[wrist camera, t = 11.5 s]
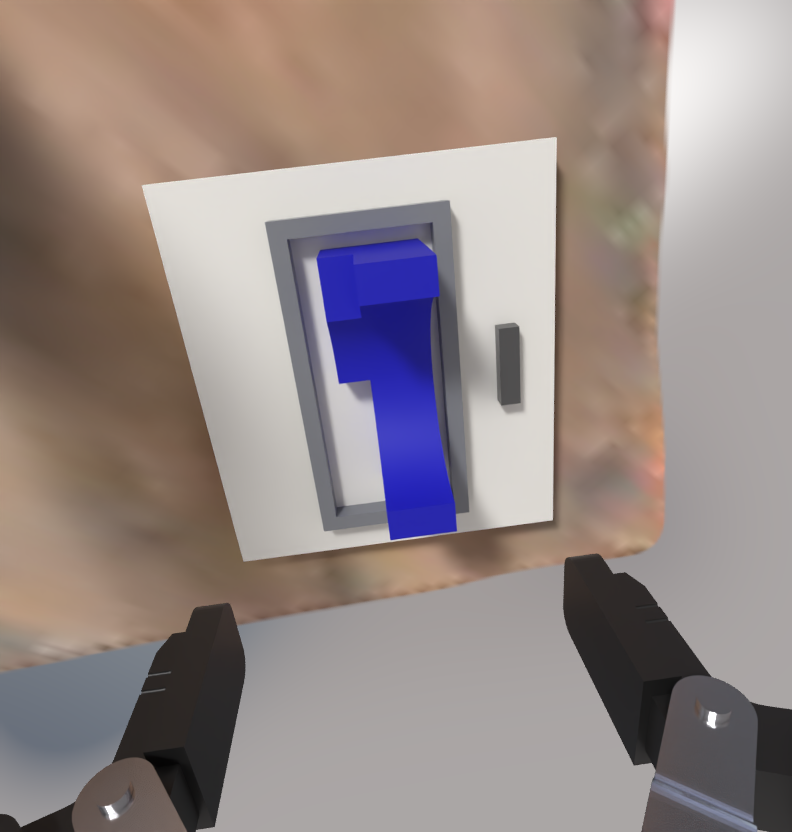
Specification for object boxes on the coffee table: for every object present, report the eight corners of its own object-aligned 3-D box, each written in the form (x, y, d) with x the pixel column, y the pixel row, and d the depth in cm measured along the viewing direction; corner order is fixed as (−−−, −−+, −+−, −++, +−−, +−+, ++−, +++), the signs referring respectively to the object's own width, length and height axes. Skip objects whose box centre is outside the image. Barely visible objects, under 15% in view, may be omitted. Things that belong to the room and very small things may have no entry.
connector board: (247, 545, 33) (240, 573, 31) (153, 185, 25) (133, 185, 23) (544, 506, 33) (558, 530, 31) (545, 139, 25) (564, 135, 23)
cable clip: (320, 250, 25) (311, 270, 20) (417, 238, 25) (436, 254, 20) (355, 477, 30) (356, 544, 24) (437, 466, 30) (457, 531, 25)
